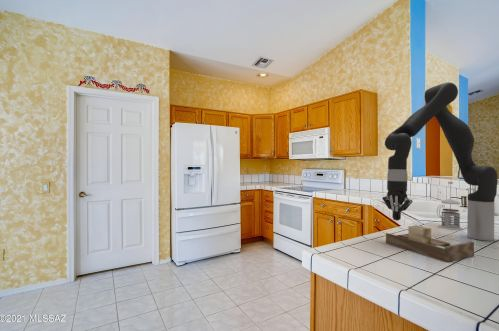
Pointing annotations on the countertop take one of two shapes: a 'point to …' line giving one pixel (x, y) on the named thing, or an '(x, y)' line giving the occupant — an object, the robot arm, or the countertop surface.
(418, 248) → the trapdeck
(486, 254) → the countertop surface
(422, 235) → the block
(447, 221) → the french press
